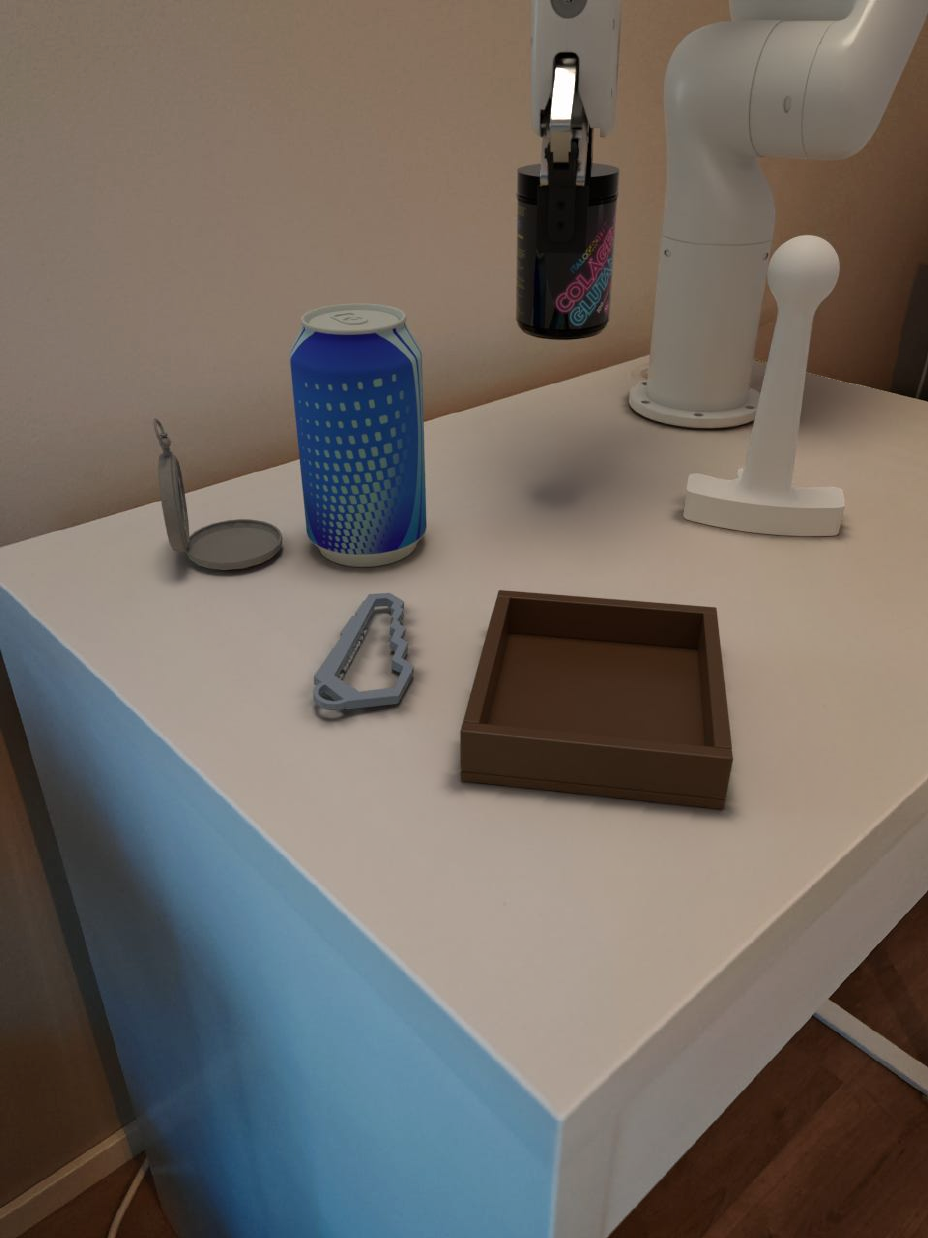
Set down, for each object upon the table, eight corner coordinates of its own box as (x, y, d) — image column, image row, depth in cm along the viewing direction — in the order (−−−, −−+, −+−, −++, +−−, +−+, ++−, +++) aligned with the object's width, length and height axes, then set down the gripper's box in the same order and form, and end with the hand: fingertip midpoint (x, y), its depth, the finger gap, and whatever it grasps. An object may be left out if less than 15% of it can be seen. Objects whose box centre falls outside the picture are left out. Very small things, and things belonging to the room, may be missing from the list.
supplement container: (536, 347, 65) (541, 180, 60) (500, 321, 71) (501, 165, 65) (626, 336, 67) (638, 172, 62) (584, 311, 73) (592, 159, 67)
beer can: (433, 520, 72) (429, 300, 63) (418, 575, 65) (410, 335, 56) (323, 516, 73) (303, 298, 64) (295, 569, 65) (269, 332, 57)
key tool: (440, 614, 61) (364, 600, 61) (441, 602, 60) (364, 587, 61) (391, 730, 51) (301, 712, 52) (392, 716, 50) (301, 698, 51)
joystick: (681, 524, 71) (718, 237, 61) (688, 484, 77) (722, 217, 67) (839, 541, 69) (906, 246, 58) (834, 498, 75) (893, 224, 64)
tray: (497, 633, 59) (498, 589, 57) (709, 651, 57) (716, 606, 55) (460, 781, 47) (459, 731, 46) (724, 810, 45) (733, 759, 44)
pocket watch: (302, 551, 68) (288, 414, 63) (200, 595, 63) (175, 450, 57) (233, 516, 73) (215, 386, 67) (133, 555, 67) (105, 417, 62)
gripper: (641, -98, 48) (616, 271, 58) (644, -77, 63) (624, 216, 72) (493, -93, 49) (493, 268, 59) (529, -73, 64) (524, 214, 73)
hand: (565, 237), depth 66 cm, fingers closed on supplement container, 6 cm apart
